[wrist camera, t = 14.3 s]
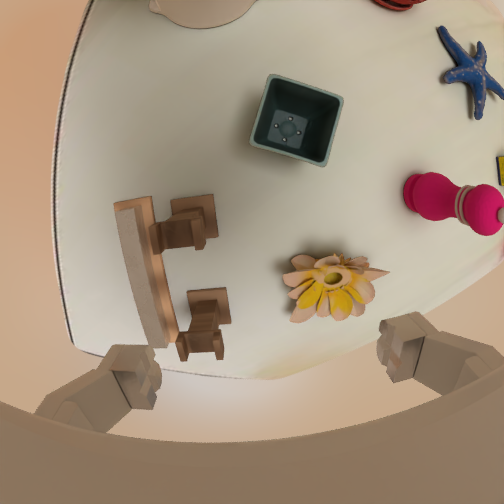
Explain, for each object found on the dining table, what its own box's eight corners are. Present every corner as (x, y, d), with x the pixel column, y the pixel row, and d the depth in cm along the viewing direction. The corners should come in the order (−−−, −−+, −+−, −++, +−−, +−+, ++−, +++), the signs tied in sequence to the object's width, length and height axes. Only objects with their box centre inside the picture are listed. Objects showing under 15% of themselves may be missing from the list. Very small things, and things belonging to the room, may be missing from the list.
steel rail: (123, 208, 37) (114, 211, 35) (141, 205, 37) (133, 208, 34) (154, 338, 44) (149, 348, 41) (171, 337, 44) (167, 348, 41)
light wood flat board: (115, 202, 38) (113, 203, 37) (151, 196, 38) (149, 196, 37) (149, 340, 45) (148, 342, 44) (181, 339, 45) (180, 342, 44)
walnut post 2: (187, 290, 42) (169, 332, 31) (226, 287, 42) (219, 329, 31) (194, 323, 44) (181, 370, 33) (231, 321, 44) (227, 368, 33)
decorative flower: (265, 316, 42) (280, 340, 32) (277, 242, 41) (297, 245, 31) (352, 322, 44) (383, 343, 34) (364, 256, 43) (400, 262, 33)
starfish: (455, 19, 27) (468, 12, 23) (501, 94, 32) (516, 92, 27) (409, 41, 30) (424, 32, 26) (465, 130, 35) (483, 129, 30)
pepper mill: (411, 223, 40) (498, 263, 21) (393, 185, 38) (485, 205, 19) (439, 200, 39) (527, 227, 20) (423, 163, 37) (516, 171, 18)
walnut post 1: (171, 199, 38) (143, 213, 27) (213, 194, 38) (199, 205, 27) (178, 240, 40) (153, 268, 29) (218, 235, 40) (208, 263, 28)
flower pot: (247, 150, 36) (247, 144, 28) (264, 92, 34) (269, 72, 25) (308, 168, 37) (326, 168, 29) (324, 111, 35) (345, 97, 26)
